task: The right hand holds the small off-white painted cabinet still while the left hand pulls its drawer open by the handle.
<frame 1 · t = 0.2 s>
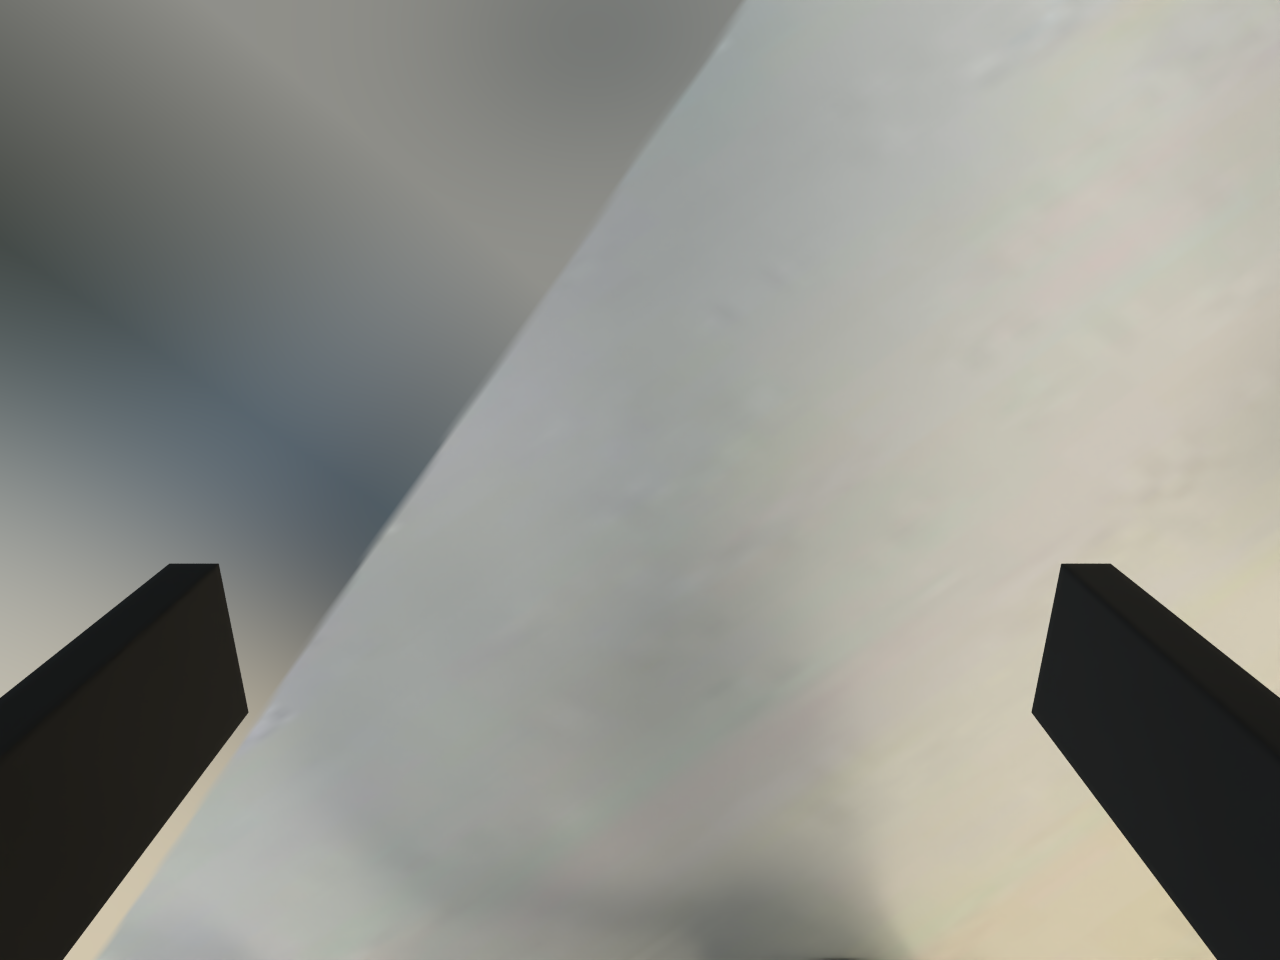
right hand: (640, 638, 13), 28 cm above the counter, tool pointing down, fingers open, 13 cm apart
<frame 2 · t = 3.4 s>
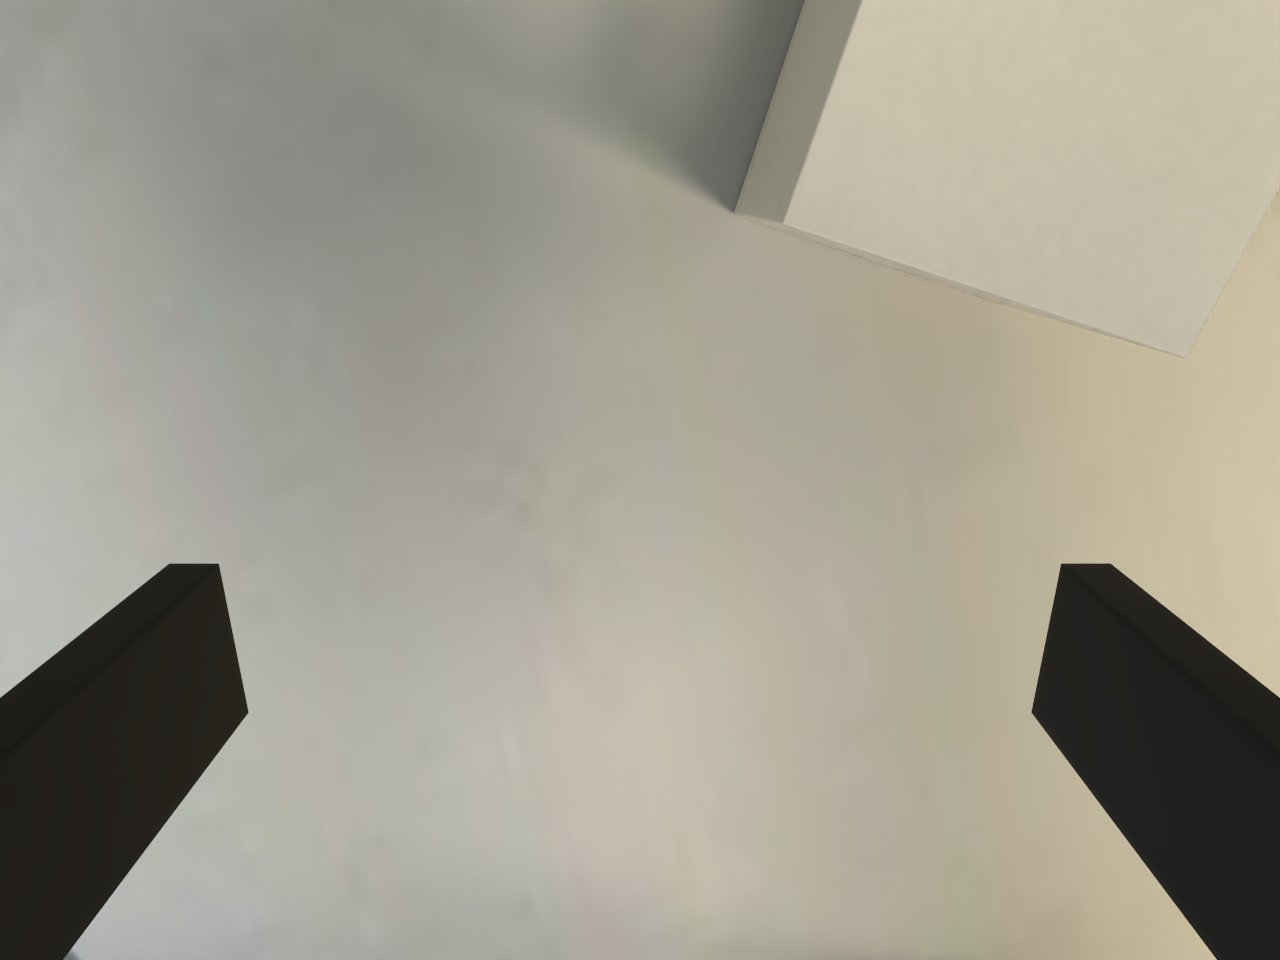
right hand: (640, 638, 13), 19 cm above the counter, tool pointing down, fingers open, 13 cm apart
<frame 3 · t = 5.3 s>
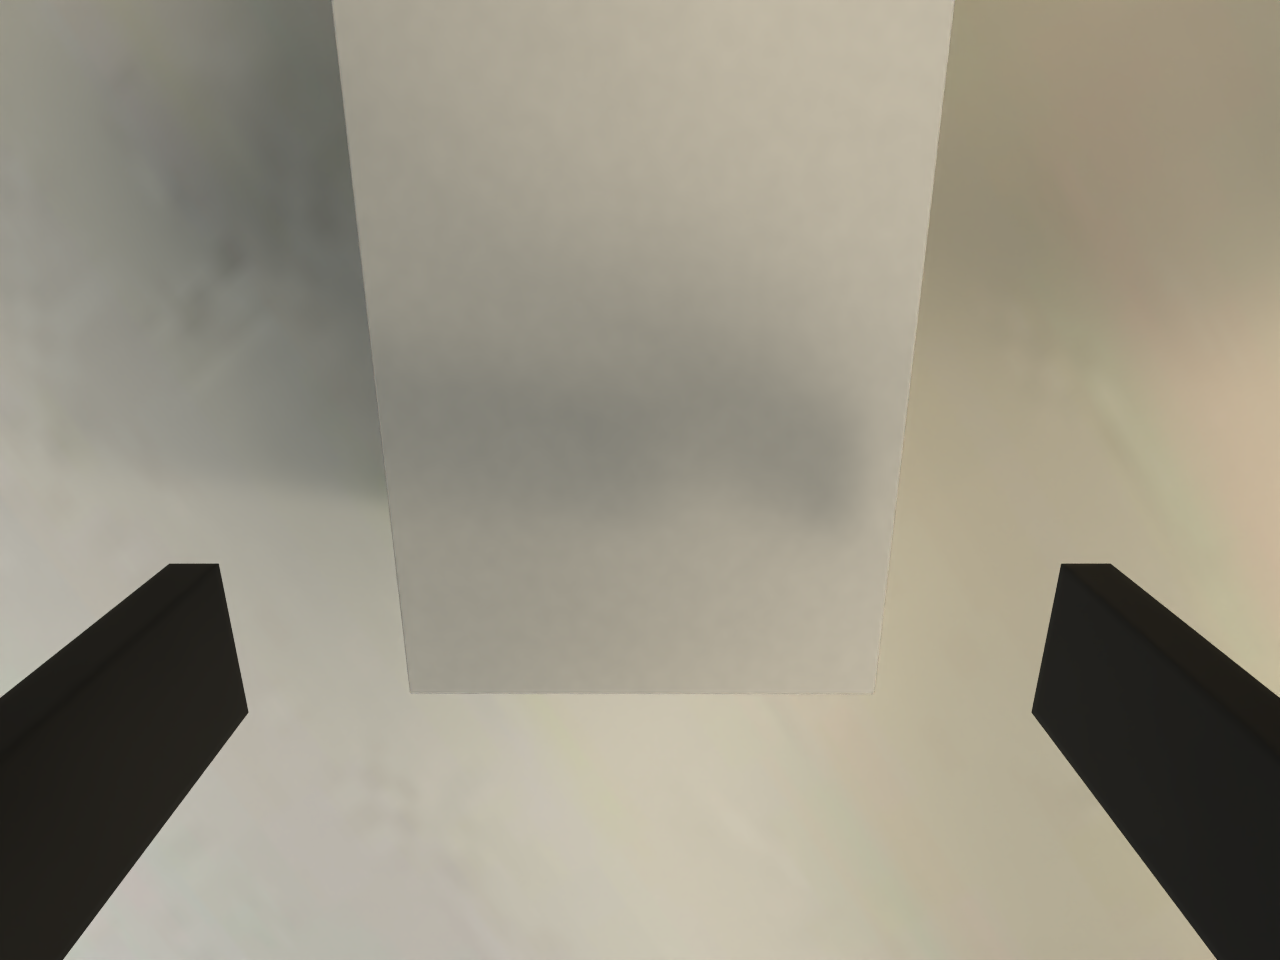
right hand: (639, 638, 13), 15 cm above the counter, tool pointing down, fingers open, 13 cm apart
cabinet: (642, 195, 25), on the counter
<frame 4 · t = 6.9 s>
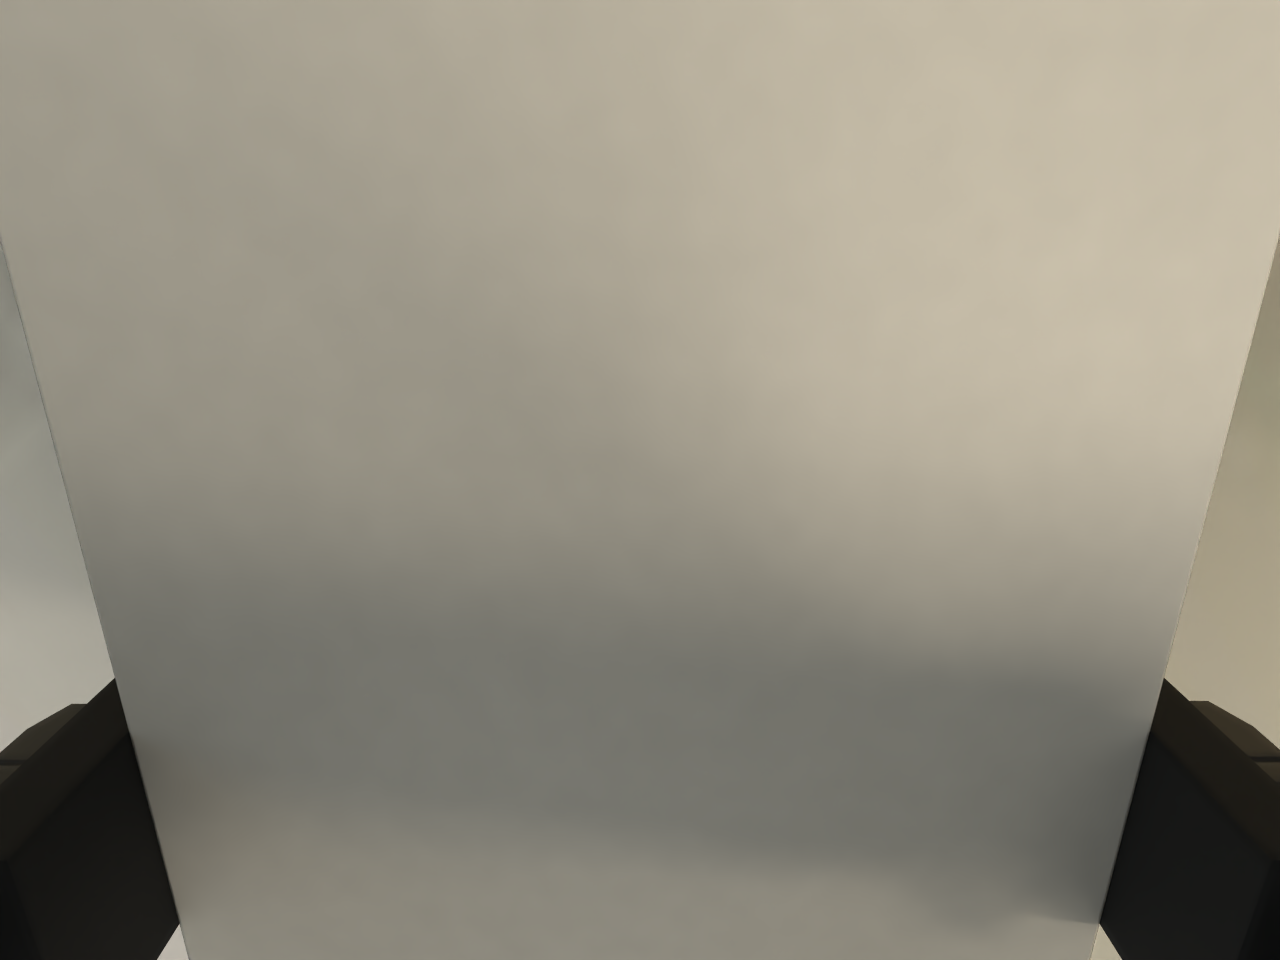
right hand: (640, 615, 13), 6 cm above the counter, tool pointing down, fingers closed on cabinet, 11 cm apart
cabinet: (639, 188, 16), on the counter, touching right hand
when the right hand's fingers open (6 cm above the counter, at t = 11.9 s): cabinet stays where it is, on the counter.
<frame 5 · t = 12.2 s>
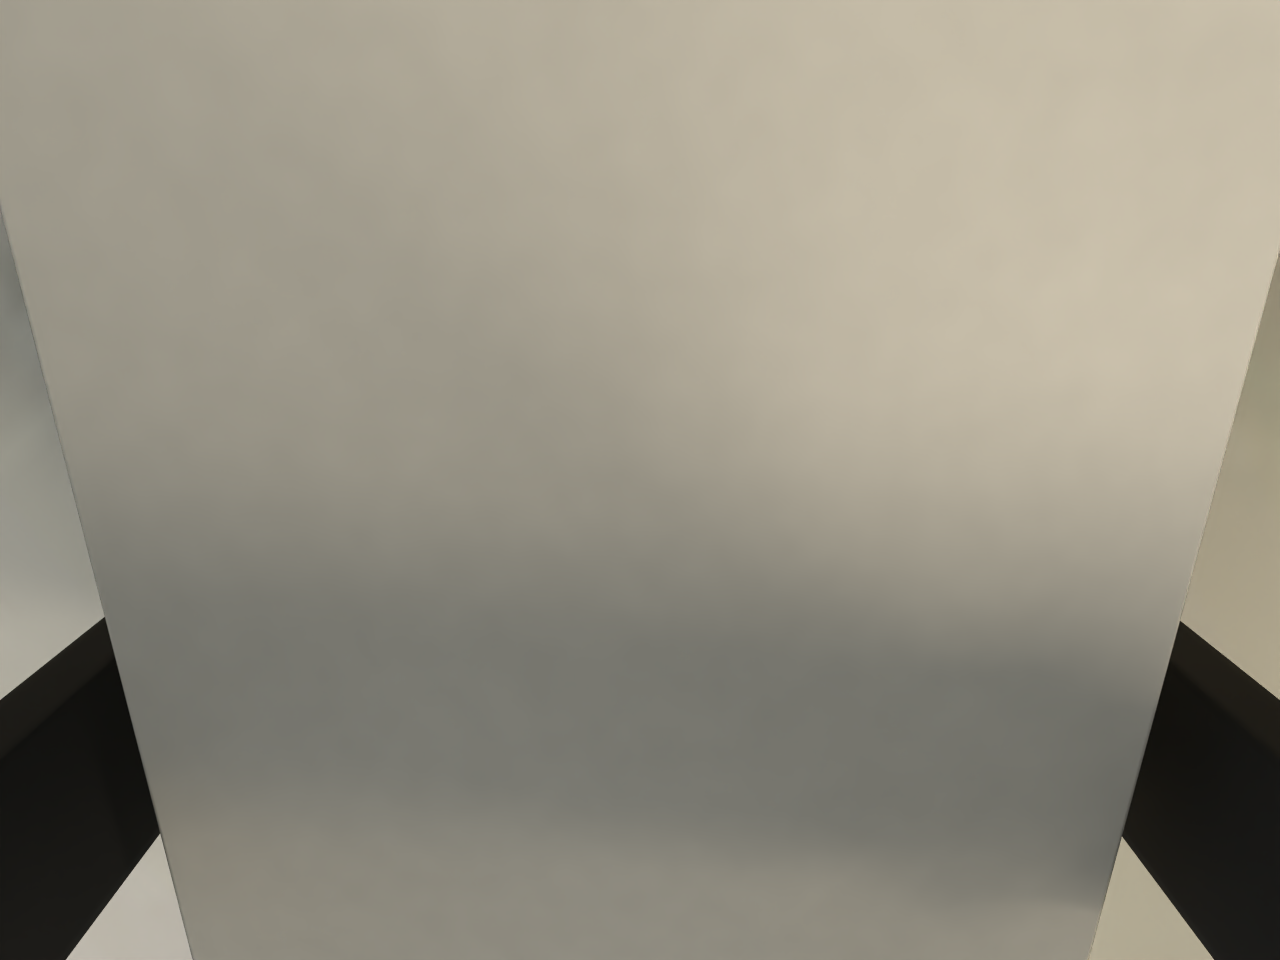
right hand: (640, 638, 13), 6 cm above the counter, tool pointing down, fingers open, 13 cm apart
cabinet: (642, 196, 16), on the counter
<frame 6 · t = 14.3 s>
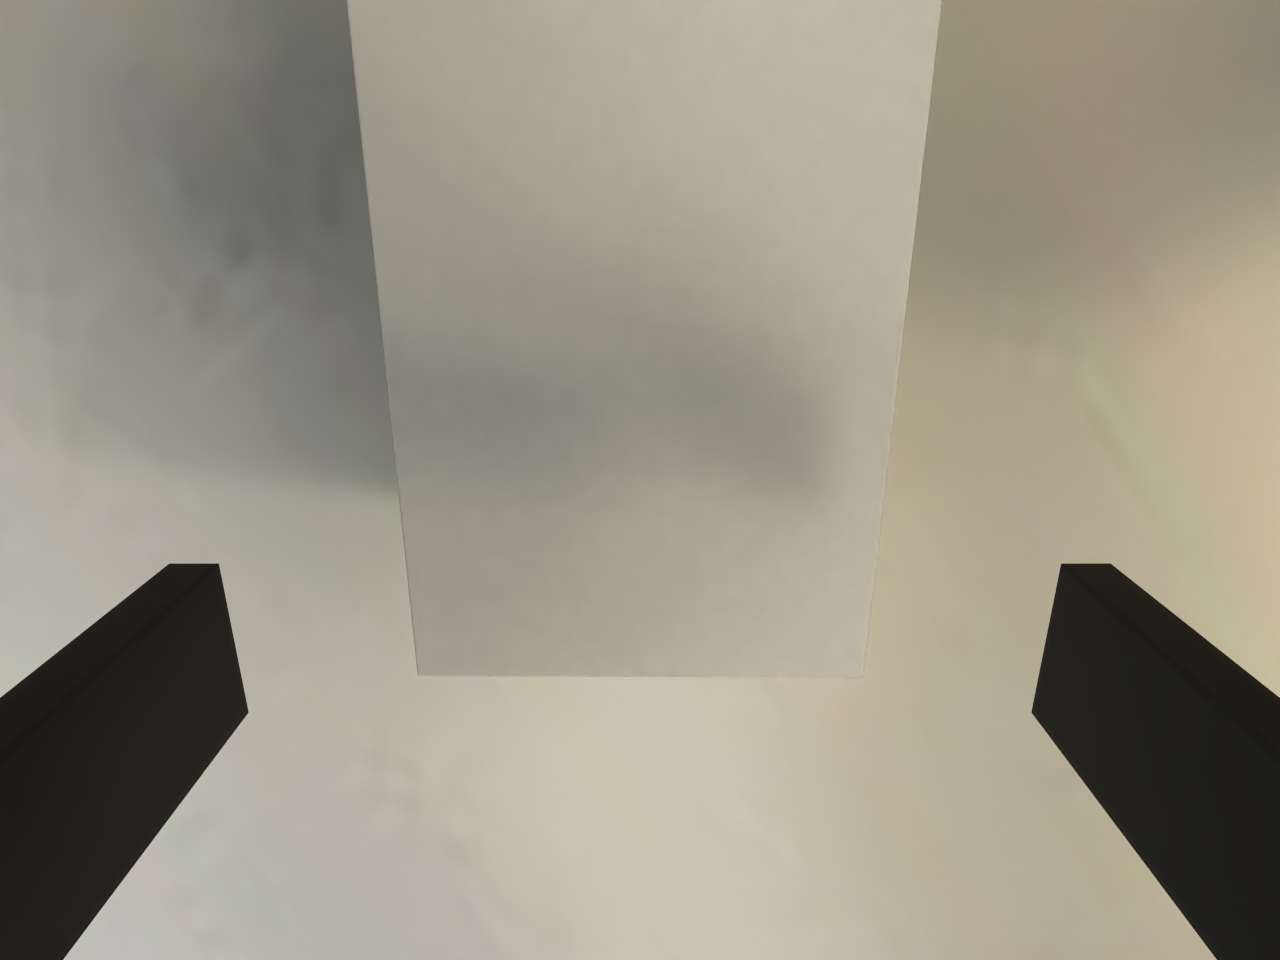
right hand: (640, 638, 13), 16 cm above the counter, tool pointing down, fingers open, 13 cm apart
cabinet: (641, 196, 25), on the counter
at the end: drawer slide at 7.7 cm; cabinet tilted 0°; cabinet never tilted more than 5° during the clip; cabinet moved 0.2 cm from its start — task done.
